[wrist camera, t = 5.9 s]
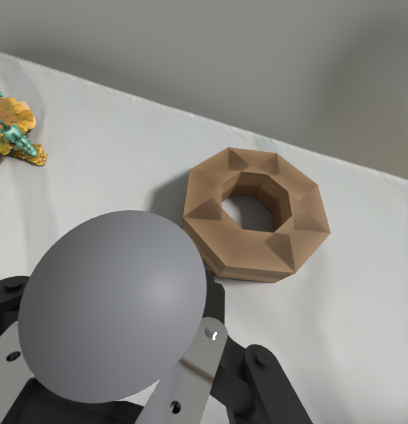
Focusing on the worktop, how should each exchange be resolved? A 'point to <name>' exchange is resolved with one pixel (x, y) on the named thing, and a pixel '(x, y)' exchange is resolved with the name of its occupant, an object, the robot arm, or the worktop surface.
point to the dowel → (112, 306)
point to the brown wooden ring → (248, 239)
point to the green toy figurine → (18, 130)
